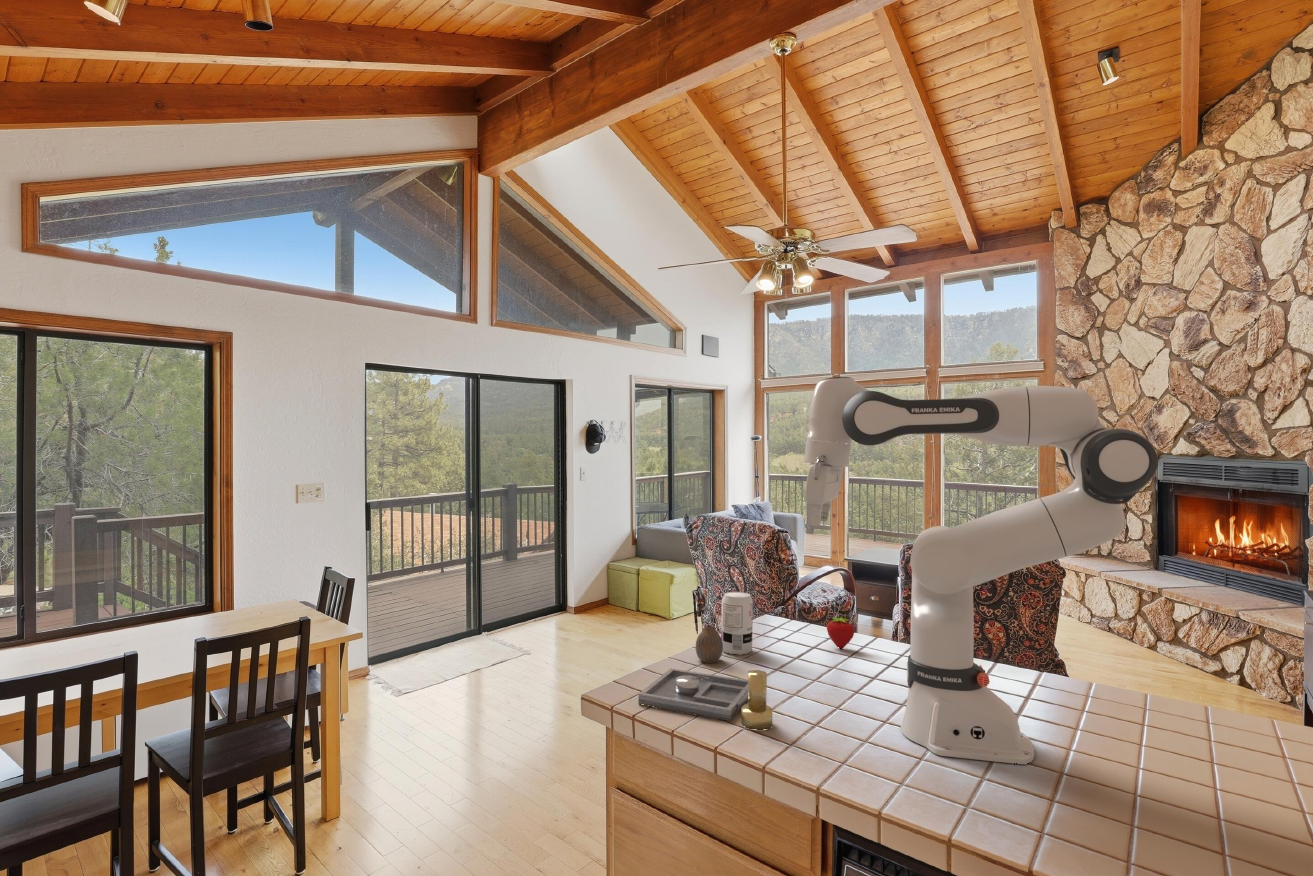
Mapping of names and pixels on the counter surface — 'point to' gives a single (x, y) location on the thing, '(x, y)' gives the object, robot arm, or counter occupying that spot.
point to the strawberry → (840, 631)
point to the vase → (709, 645)
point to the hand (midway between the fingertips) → (819, 523)
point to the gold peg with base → (756, 703)
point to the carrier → (697, 694)
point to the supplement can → (737, 623)
